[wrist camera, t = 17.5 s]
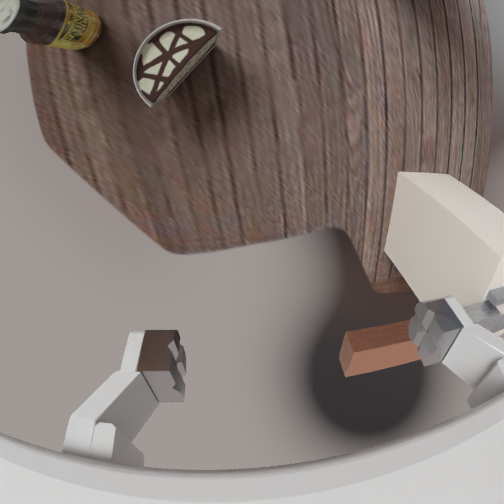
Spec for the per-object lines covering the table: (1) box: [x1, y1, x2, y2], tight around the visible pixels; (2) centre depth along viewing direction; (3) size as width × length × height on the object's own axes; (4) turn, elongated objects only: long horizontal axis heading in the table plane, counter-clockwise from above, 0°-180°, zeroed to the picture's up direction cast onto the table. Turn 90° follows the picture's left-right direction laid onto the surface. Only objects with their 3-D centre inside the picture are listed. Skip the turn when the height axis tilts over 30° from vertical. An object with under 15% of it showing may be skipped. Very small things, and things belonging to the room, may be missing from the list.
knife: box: [339, 300, 501, 377], centre depth 27 cm, size 20×4×2 cm, turn 93°
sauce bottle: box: [0, 0, 102, 50], centre depth 20 cm, size 7×6×20 cm
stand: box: [384, 172, 504, 336], centre depth 39 cm, size 12×16×28 cm
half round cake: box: [133, 19, 223, 108], centre depth 29 cm, size 12×6×10 cm, turn 137°
